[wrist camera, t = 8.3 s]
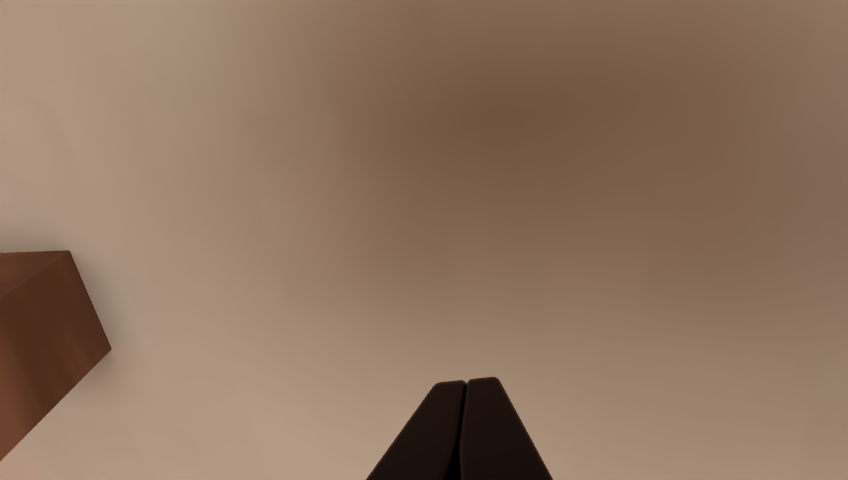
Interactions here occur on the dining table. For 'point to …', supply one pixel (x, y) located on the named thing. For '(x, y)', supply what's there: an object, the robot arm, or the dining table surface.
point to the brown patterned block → (42, 338)
